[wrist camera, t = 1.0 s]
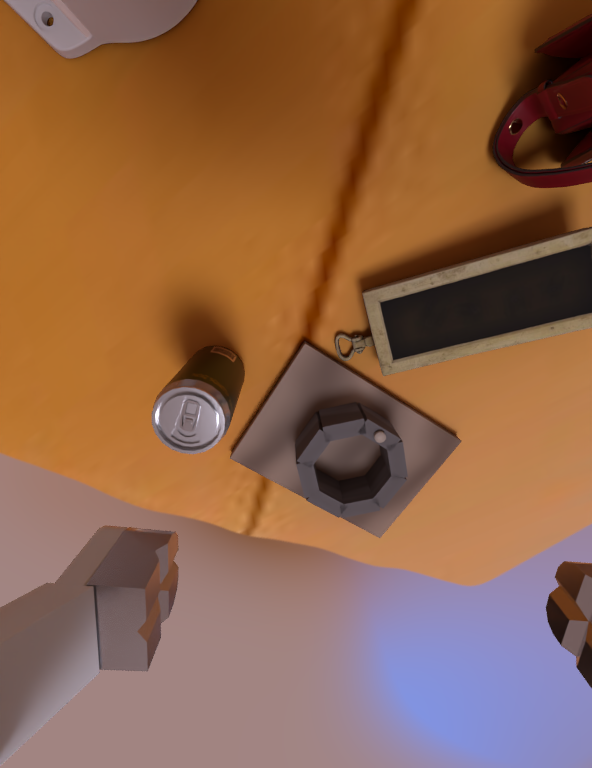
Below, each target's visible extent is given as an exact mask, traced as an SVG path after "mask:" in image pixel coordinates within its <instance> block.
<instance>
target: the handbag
mask: <svg viewBox="0 0 592 768" xmlns="http://www.w3.org/2000/svg"><path fill="white" fill-rule="evenodd" d="M535 53H543V54H546V55H550V56H556V57H564V58H582V59H580V60H579V61H578V62H577V63H576V64H574V65H573V66H572V67H571V68H569V69H568V70H567V71H566V72H564V73H563V74H562V75H561V76H559V77H558V78H557V79H556V80H555V81H554V82H553V81H552V80H547V81H544V82H542V83H541V84H540V85H539V87H537V88H535V89H533V90H531V91H529V92H527V93H526V94H525V95H523V96H522V97H521V98H520V99H519V100H518V101H517V102H516V104H515V105H514V106H513V107H512V108H511V109H510V111H509V112H508V113H507V115H506V116H505V118H504V120H503V121H502V123H501V125H500V127H499V129H498V131H497V133H496V135H495V138H494V142H493V154H494V158H495V159H496V161H497V163H498V165H499V166H500V167H501V168H502V169H504V170H505V171H506V172H507V173H509V174H510V175H511V176H513V177H514V178H515V179H517V180H518V181H519V182H521V183H522V184H525V185H527V186H531V187H535V188H556V187H567V186H574V185H579V184H584V183H589V182H592V163H587V162H590V161H592V130H591V131H590V132H589V133H588V134H587V135H586V136H585V137H584V138H583V140H582V141H581V142H580V143H579V144H578V145H577V146H576V148H575V149H574V150H573V151H572V152H571V154H570V155H569V156H568V158H567V159H566V160H565V161H564V162H563V163H562V164H561V168H556V169H542V170H527V169H521V168H518V167H516V166H515V164H514V162H513V151H514V148H515V146H516V144H517V142H518V140H519V138H520V137H521V135H522V134H523V132H524V131H525V130H526V129H527V128H528V127H529V126H530V125H531V124H532V123H533V122H534V121H536V120H537V119H539V118H541V117H548V118H549V120H551V123H552V126H553V129H554V131H555V133H556V134H567V133H571V132H575V131H579V130H582V129H586V128H589V127H592V14H590V15H588V16H587V17H585V18H583V19H581V20H580V21H578V22H576V23H575V24H573V25H571V26H570V27H568V28H566V29H565V30H563V31H561V32H559V33H558V34H556V35H554V36H552V37H550V38H549V39H548V40H547V41H546V42H545V43H543V44H542V45H541V46H539V47H538V48H536V49H535ZM585 163H587V164H585Z"/></svg>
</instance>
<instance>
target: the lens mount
mask: <svg viewBox="0 0 592 768" xmlns="http://www.w3.org/2000/svg"><path fill="white" fill-rule="evenodd" d="M460 442H461V440H460V439H459V438H458V437H457V436H456V435H454V434H453V433H451V432H449V431H448V430H446V429H445V428H443V427H441V426H440V425H438V424H437V423H435V422H433V421H432V420H430V419H429V418H427V417H425V416H424V415H422V414H421V413H419V412H417V411H416V410H414V409H413V408H411V407H409V406H408V405H406V404H405V403H403V402H401V401H400V400H398V399H397V398H395V397H393V396H392V395H390V394H389V393H387V392H385V391H384V390H382V389H381V388H379V387H377V386H376V385H374V384H373V383H371V382H369V381H368V380H366V379H365V378H363V377H362V376H360V375H358V374H357V373H355V372H354V371H352V370H350V369H349V368H347V367H346V366H344V365H342V364H341V363H339V362H338V361H336V360H334V359H333V358H331V357H330V356H328V355H326V354H325V353H323V352H322V351H320V350H318V349H317V348H315V347H314V346H312V345H310V344H309V343H307V342H306V341H304V342H303V344H302V345H301V347H300V348H299V350H298V352H297V353H296V355H295V356H294V358H293V359H292V361H291V362H290V364H289V365H288V367H287V368H286V370H285V371H284V373H283V374H282V376H281V378H280V379H279V381H278V382H277V384H276V385H275V387H274V388H273V390H272V391H271V393H270V394H269V396H268V397H267V399H266V401H265V402H264V404H263V405H262V407H261V408H260V410H259V411H258V413H257V414H256V416H255V417H254V419H253V420H252V422H251V423H250V425H249V427H248V428H247V430H246V431H245V433H244V434H243V436H242V437H241V439H240V440H239V442H238V443H237V445H236V446H235V448H234V450H233V451H232V453H231V456H230V459H232V460H234V461H236V462H238V463H240V464H242V465H244V466H245V467H247V468H249V469H251V470H253V471H255V472H257V473H259V474H260V475H262V476H264V477H266V478H268V479H270V480H272V481H274V482H275V483H277V484H279V485H281V486H283V487H285V488H287V489H289V490H290V491H292V492H294V493H296V494H298V495H300V496H302V497H304V498H306V499H307V501H308V502H310V503H312V504H314V505H316V506H318V507H320V508H322V509H323V510H325V511H327V512H329V513H331V514H333V515H335V516H337V517H341V518H343V519H345V520H347V521H349V522H351V523H353V524H354V525H356V526H358V527H360V528H362V529H364V530H366V531H368V532H369V533H371V534H373V535H375V536H377V537H379V538H380V537H381V536H382V535H383V534H384V533H385V532H386V530H387V529H388V528H389V527H390V526H391V524H392V523H393V522H394V521H395V520H396V518H397V517H398V516H399V515H400V514H401V513H402V511H403V510H404V509H405V508H406V507H407V505H408V504H409V503H410V502H411V501H412V499H413V498H414V497H415V496H416V495H417V494H418V492H419V491H420V490H421V489H422V488H423V486H424V485H425V484H426V483H427V482H428V480H429V479H430V478H431V477H432V476H433V475H434V473H435V472H436V471H437V470H438V469H439V467H440V466H441V465H442V464H443V463H444V461H445V460H446V459H447V458H448V457H449V456H450V454H451V453H452V452H453V451H454V450H455V448H456V447H457V446H458V445H459V444H460Z"/></svg>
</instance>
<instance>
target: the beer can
mask: <svg viewBox="0 0 592 768" xmlns="http://www.w3.org/2000/svg"><path fill="white" fill-rule="evenodd" d="M244 375H245V371H244V367H243V363H242V362H241V360H240V359H239V357H238V356H237V355H236V354H235V353H234V352H232V351H231V350H229V349H227V348H225V347H222V346H209V347H204V348H203V349H201V350H199V351H198V352H196V353H195V354H194V356H193V357H192V358H191V359H190V360H189V361H188V362H187V363H186V364H185V365H184V367H183V368H182V369H181V370H180V371H179V372H178V373H177V374H176V375H175V376H174V378H173V379H172V380H171V381H170V382H169V383H168V384H167V385H166V386H165V387H164V389H163V390H162V391H161V392H160V393H159V394H158V396H157V398H156V400H155V403H154V406H153V411H152V425H153V428H154V431H155V433H156V435H157V436H158V438H159V439H160V440H161V441H162V443H164V444H165V445H166V446H168V447H169V448H171V449H172V450H175V451H178V452H181V453H187V454H196V453H201V452H205V451H207V450H208V449H210V448H212V447H214V446H215V445H216V443H218V442H219V441H220V440H221V439H222V438H223V437H224V435H225V434H226V432H227V430H228V427H229V425H230V422H231V419H232V416H233V413H234V410H235V407H236V404H237V401H238V398H239V394H240V391H241V388H242V385H243V382H244Z"/></svg>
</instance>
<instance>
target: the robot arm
mask: <svg viewBox="0 0 592 768" xmlns="http://www.w3.org/2000/svg"><path fill="white" fill-rule="evenodd" d="M4 1H5V2H6V3H7V4H8V5H9V6H10V7H11V8H12V9H13V10H14V11H15V12H16V13H17V14H18V15H19V16H20V17H21V18H22V19H23V20H24V21H25V22H26V23H27V24H28V25H29V26H30V27H31V28H32V29H33V30H34V31H35V32H37V33H38V34H39V35H40V36H41V37H42V38H43V39H44V40H45V41H46V42H47V43H48V44H49V45H50V46H51V47H52V48H53V49H54V50H55V51H56V52H57V53H58V54H60V55H61V56H63V57H65V58H76V57H79V56H82V55H84V54H86V53H88V52H90V51H91V50H93V49H95V48H96V47H98V46H100V45H101V44H106V43H132V42H140V41H145V40H149V39H152V38H154V37H157V36H159V35H161V34H163V33H165V32H167V31H168V30H170V29H171V28H173V27H174V26H175V25H177V24H178V23H179V22H180V21H181V20H182V19H183V18H184V17H185V16H186V15H187V14H188V13H189V11H190V10H191V9H192V8H193V6H194V5H195V3H196V2H197V0H4ZM51 17H53V18H54V22H53V25H52V26H47V21H48V19H49V18H51ZM177 551H178V535H177V533H176V532H171V531H160V530H151V529H141V528H131V527H129V528H127V527H117V526H103V527H101V528H99V529H98V530H97V532H96V533H95V534H94V535H93V536H92V538H91V539H90V540H89V541H88V543H87V544H86V545H85V546H84V548H83V549H82V550H81V551H80V553H79V554H78V555H77V556H76V558H75V559H74V560H73V561H72V563H71V564H70V565H69V566H68V568H67V569H66V570H65V571H64V573H63V574H62V575H61V576H60V577H59V579H58V580H57V581H56V582H55V584H54V583H46V584H44V585H42V586H40V587H38V588H36V589H34V590H32V591H31V592H29V593H27V594H25V595H23V596H21V597H19V598H17V599H16V600H14V601H12V602H10V603H8V604H6V605H5V606H2V607H1V608H0V766H1V765H2V764H3V763H4V762H5V761H6V760H7V759H8V758H9V757H10V756H12V755H13V754H14V753H15V752H16V751H17V750H18V749H19V748H20V747H21V746H22V745H23V744H24V743H25V742H26V741H28V740H29V739H30V738H31V737H32V736H33V735H34V734H35V733H36V732H37V731H38V730H39V729H40V728H41V727H42V726H44V725H45V724H46V723H47V721H49V720H50V719H51V718H52V717H53V716H54V715H55V714H56V713H57V712H58V711H59V710H61V708H63V707H64V706H65V705H66V704H67V703H68V702H69V701H70V700H71V699H72V698H73V697H74V696H75V695H76V694H77V693H78V692H79V691H81V690H82V689H83V688H84V687H85V686H86V685H87V684H88V683H89V682H90V681H91V680H92V679H93V678H95V676H97V675H98V674H99V672H100V669H101V670H126V671H148V669H149V667H150V664H151V661H152V659H153V656H154V654H155V651H156V648H157V646H158V644H159V641H160V638H161V623H162V622H163V621H164V620H166V619H167V618H168V617H169V615H170V612H171V609H172V606H173V604H174V599H175V595H176V591H177V584H178V566H177V565H176V563H175V562H174V561H173V560H174V558H175V556H176V553H177ZM555 578H556V580H557V582H558V585H559V587H558V588H556V589H555V590H554V591H553V592H551V593H550V594H549V597H548V601H547V605H546V611H547V618H548V623H549V625H550V628H551V630H552V632H553V634H554V636H555V637H556V639H557V640H558V642H559V643H560V644H561V646H563V647H564V648H565V649H567V650H568V651H569V652H571V653H572V654H574V655H575V656H576V661H577V662H576V664H577V669H578V670H579V671H580V673H581V674H582V675H583V677H584V678H585V680H586V681H587V683H588V684H589V685H590V687H591V688H592V563H581V562H567V561H564V562H563V563H562V564H561V565H560V566H559V567H558V569H557V572H556V575H555Z"/></svg>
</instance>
